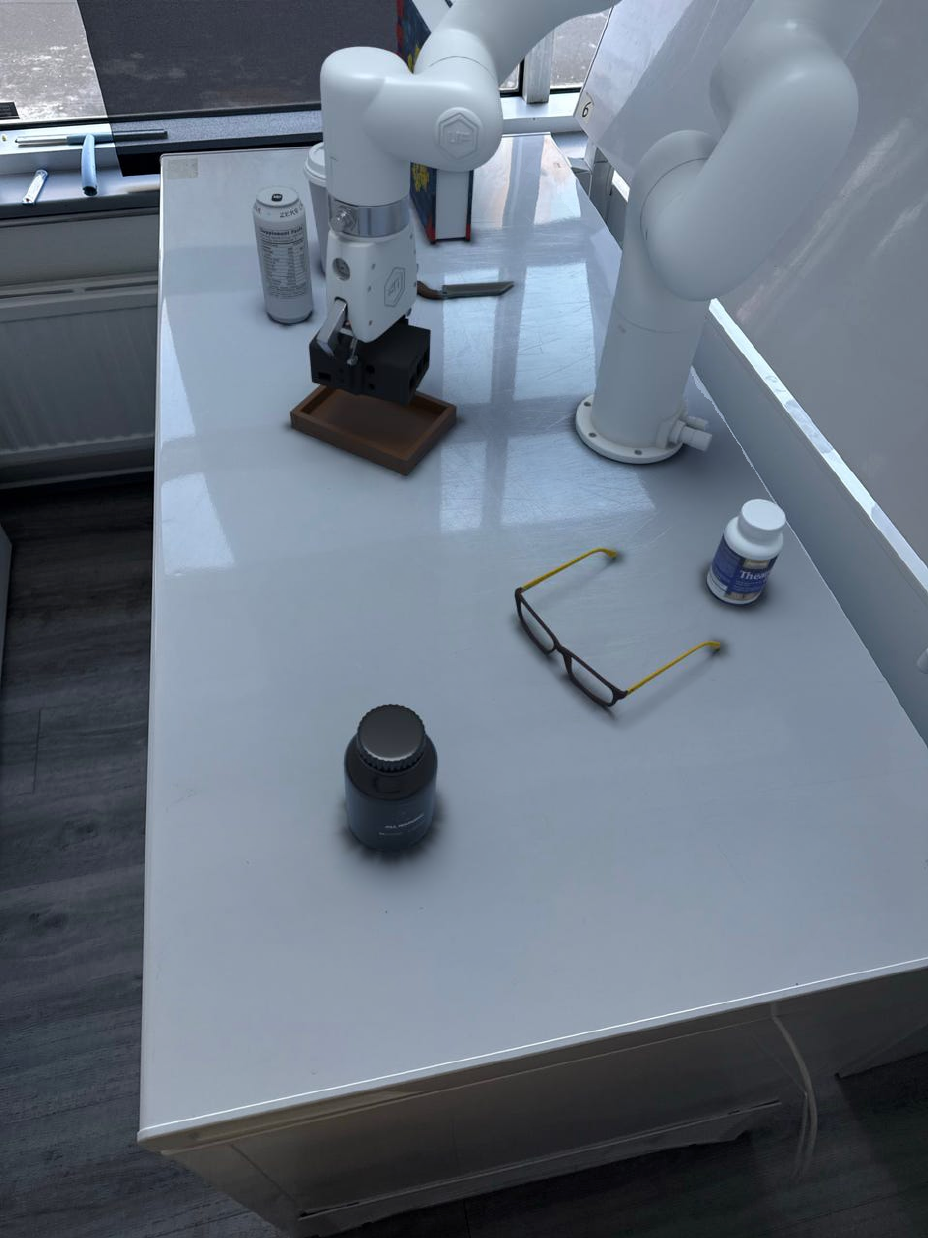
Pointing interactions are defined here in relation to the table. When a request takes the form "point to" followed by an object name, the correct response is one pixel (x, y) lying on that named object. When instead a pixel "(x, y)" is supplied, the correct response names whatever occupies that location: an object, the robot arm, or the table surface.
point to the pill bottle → (747, 552)
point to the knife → (463, 289)
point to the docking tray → (375, 425)
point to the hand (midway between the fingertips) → (371, 367)
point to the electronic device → (382, 362)
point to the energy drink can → (283, 253)
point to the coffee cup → (318, 195)
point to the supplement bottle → (390, 778)
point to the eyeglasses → (568, 654)
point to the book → (432, 190)
